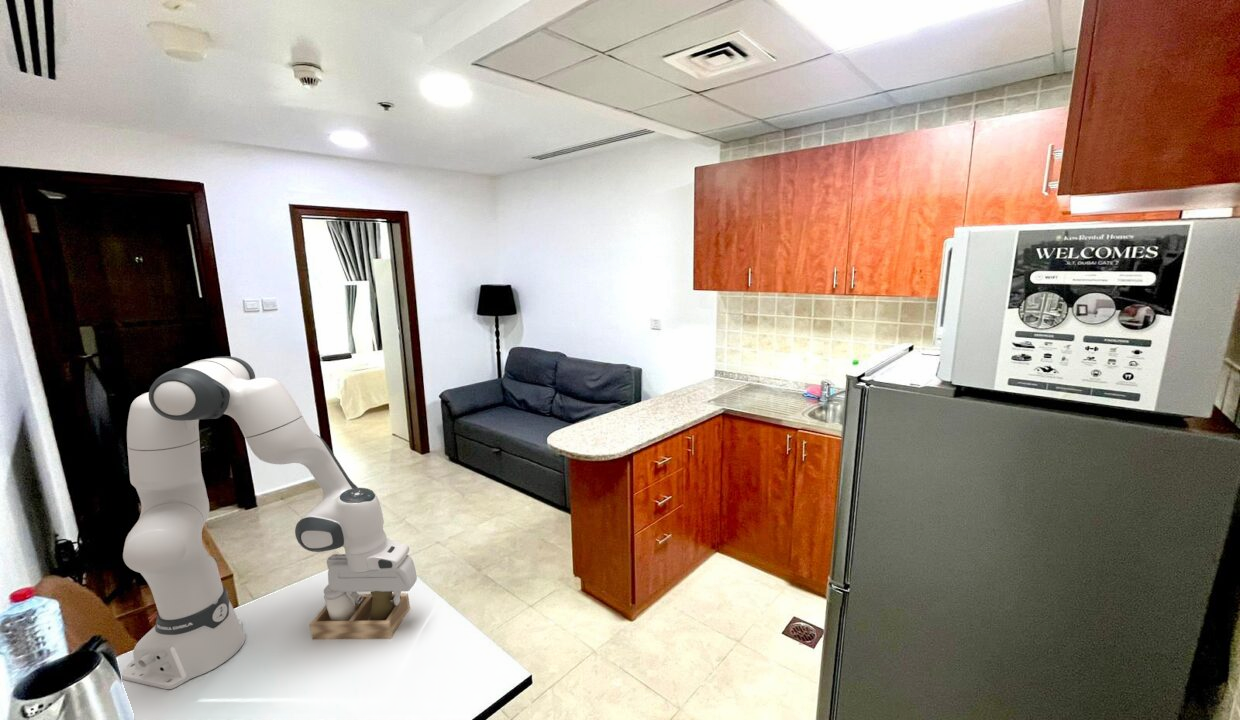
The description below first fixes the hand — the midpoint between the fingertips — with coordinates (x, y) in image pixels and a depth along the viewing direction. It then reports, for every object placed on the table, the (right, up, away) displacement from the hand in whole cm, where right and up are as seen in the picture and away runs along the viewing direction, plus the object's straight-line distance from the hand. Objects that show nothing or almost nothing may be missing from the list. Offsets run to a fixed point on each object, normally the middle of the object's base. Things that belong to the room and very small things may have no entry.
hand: (377, 603), depth 115 cm
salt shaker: (-9, -6, +2) cm, 11 cm away
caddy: (-4, -6, +2) cm, 8 cm away
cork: (0, -5, +2) cm, 5 cm away
